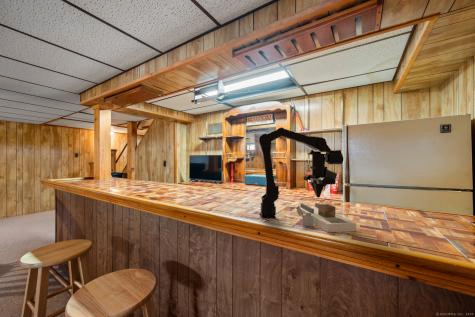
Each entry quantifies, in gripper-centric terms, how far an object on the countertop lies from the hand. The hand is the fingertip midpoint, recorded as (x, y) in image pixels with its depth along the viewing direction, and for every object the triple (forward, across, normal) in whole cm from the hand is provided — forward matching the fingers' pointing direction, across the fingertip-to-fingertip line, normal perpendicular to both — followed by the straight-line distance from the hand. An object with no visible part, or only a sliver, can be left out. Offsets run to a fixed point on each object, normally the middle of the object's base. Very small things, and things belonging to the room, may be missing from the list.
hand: (318, 197), depth 96 cm
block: (+7, -7, 0) cm, 10 cm away
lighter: (+10, -9, +11) cm, 17 cm away
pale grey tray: (+10, -4, 0) cm, 10 cm away
